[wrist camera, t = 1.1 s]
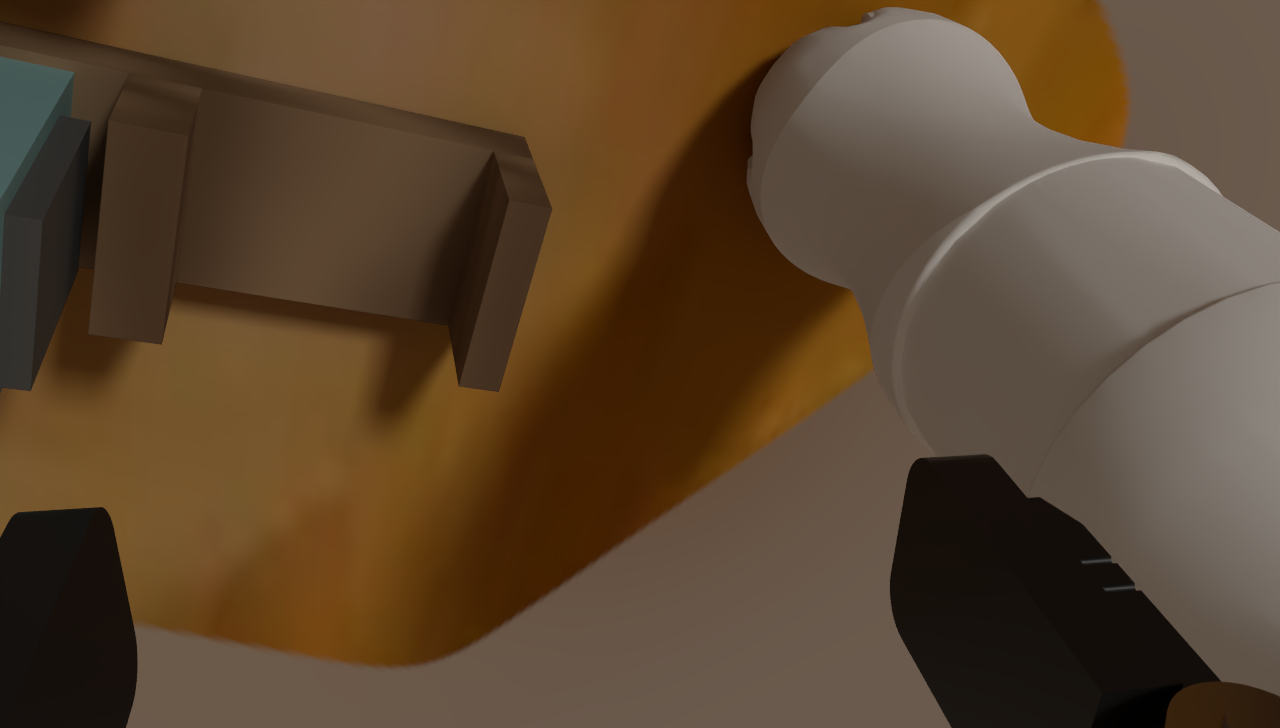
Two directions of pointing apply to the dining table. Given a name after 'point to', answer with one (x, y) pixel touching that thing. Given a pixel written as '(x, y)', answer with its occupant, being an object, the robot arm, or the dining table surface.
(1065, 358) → the water bottle
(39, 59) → the rail
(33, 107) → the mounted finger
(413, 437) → the dining table surface
